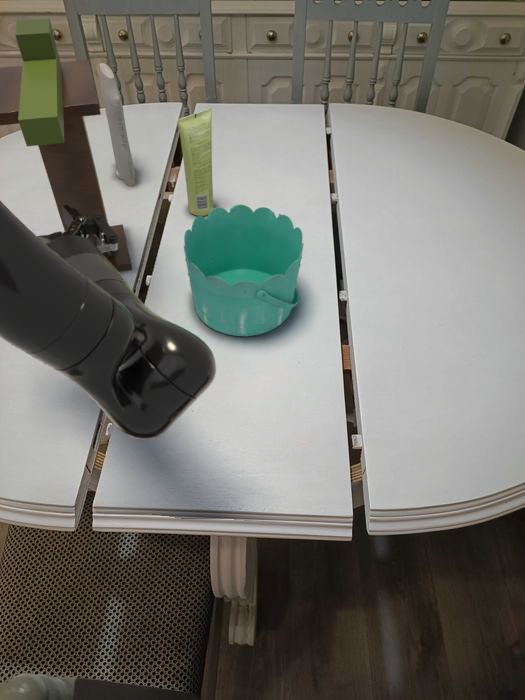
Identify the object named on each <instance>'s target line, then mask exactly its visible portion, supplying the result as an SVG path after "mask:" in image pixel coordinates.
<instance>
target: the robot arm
mask: <svg viewBox="0 0 525 700" xmlns="http://www.w3.org/2000/svg"><path fill="white" fill-rule="evenodd" d="M62 213H63V219H64V221H65V223H66V224H67V225H68V228H67V230H66V231H63V232H62V231H56V232H53V233H50V234H44V235H36V234H35V233H34V232H33V231H32V230H31V229H30V228H29V227H27V225H26V224H24V223H23V221H21V220H20V219H19V218H18V217H17V216H16V215H15V214H14V212H12V211H11V209H9V208H8V207H7V206H6V205H5V203H3V202H2V201H1V200H0V339H2V340H4V341H5V342H7V343H8V344H10V345H11V346H13V347H14V348H16V349H18V350H20V351H22V352H23V353H25V354H27V355H28V356H30V357H32V358H34V359H36V360H38V361H39V362H41V363H43V364H44V365H47V366H48V367H50V368H52V369H54V370H55V371H57V372H59V373H61V374H62V375H63V376H65V377H66V378H68V379H69V380H70V381H72V382H73V383H74V384H75V385H76V386H77V387H79V388H80V390H82V391H83V392H84V393H85V394H86V395H87V396H89V398H91V400H93V402H94V403H95V404H96V405H97V406H98V407H99V408H100V409H101V410H102V413H104V414H105V416H106V417H107V418H108V419H109V421H110V422H112V423H113V425H114V426H115V427H116V429H119V431H120V432H121V433H123V434H124V435H126V436H128V437H129V438H132V439H136V440H152V439H156V438H158V437H160V436H162V435H163V434H166V432H167V431H169V429H171V427H172V426H173V425H174V424H175V423H176V422H177V421H178V420H179V419H180V417H181V416H182V415H183V414H184V413H185V412H186V411H187V410H188V409H189V408H190V407H191V406H192V405H193V404H194V403H195V402H196V401H197V400H198V398H200V397H201V396H202V395H203V394H204V393H205V392H206V391H207V390H208V388H209V387H210V386H211V385H212V384H213V382H214V380H215V378H216V375H217V361H216V358H215V356H214V353H213V351H212V349H211V348H210V347H209V345H208V344H207V343H206V342H205V341H204V340H203V339H202V338H201V337H199V336H198V335H196V334H195V333H193V332H191V331H189V330H188V329H186V328H185V327H183V326H180V325H178V324H176V323H173V322H172V321H170V320H167V319H165V318H163V317H161V316H160V315H158V314H157V313H155V312H154V311H152V310H151V309H150V308H149V307H148V306H147V305H146V304H145V303H144V302H143V301H142V300H141V299H140V298H139V297H138V296H137V295H136V293H135V292H134V291H133V290H132V289H131V288H130V286H129V285H128V283H127V281H126V279H125V278H124V277H123V275H122V274H121V272H118V270H117V269H116V268H115V267H114V266H113V265H112V264H111V262H110V261H109V260H108V259H107V258H106V257H105V256H104V255H103V252H107V253H108V254H109V255H110V256H118V255H119V248H118V235H117V234H116V233H115V232H114V230H113V229H112V228H111V227H110V226H111V225H110V224H109V222H108V223H107V222H106V220H105V219H104V218H103V217H102V216H100V215H96V216H93V219H87V218H86V217H85V216H82V215H81V214H80V213H79V212H78V211H77V210H76V209H74V208H70V207H69V206H68V205H64V206H62ZM88 234H94V236H95V237H96V238H97V240H98V242H96V243H95V242H94V241H93V240H91V239H88Z"/></svg>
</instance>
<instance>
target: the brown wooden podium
mask: <svg viewBox="0 0 525 700" xmlns="http://www.w3.org/2000/svg"><path fill="white" fill-rule="evenodd" d="M60 63H61V67H62V89H63V117H64V143H57V144H47V145H37V146H38V151H39V153H40V156H41V160H42V162H43V166H44V169H45V172H46V175H47V179H48V182H49V185H50V189H51V192H52V195H53V198H54V202H55V205H56V208H57V211H58V215H59V218H60V221H61V225H62V228H63V232H65V231H66V230H67V228H68V225H67V224H66V223H65V221H64V219H63V213H62V206H64V205H68V206H69V207H70V208H74V209H76V210H77V211H78V212H79V213H80V214H81V215H82V216H85V217H86V218H87V219H93V216H96V215H100V216H102V217H103V218H104V219H105V220H106V222H107V223H108V224H109V220H108V216H107V212H106V207H105V203H104V198H103V195H102V190H101V186H100V182H99V177H98V172H97V168H96V164H95V160H94V156H93V152H92V151H93V150H92V146H91V142H90V138H89V133H88V130H87V125H86V120H85V117H91V116H100V115H102V113H101V109H100V103H99V98H98V95H97V91H96V85H95V81H94V76H93V72H92V68H91V63H90V60H89V59H83V60H69V61H62V62H61V61H60ZM22 68H23V65H14V66H13V65H12V66H3V67H0V126H8V125H9V126H11V125H20V124H19V121H18V117H19V104H20V92H21V80H22ZM110 227H111V228H112V229H113V230H114V232H115V233H116V234H117V235H118V248H119V255H118V256H110V255H109V254H108V253H107V252H103V255H104V256H105V257H106V258H107V259H108V260H109V261H110V262H111V264H112V265H113V266H114V267H115V268H116V269H117V270H118V272H119V273H121V272H128V271H133V265H132V261H131V256H130V251H129V247H128V242H127V238H126V233H125V229H124V225H123V223H122V224H116V225H110ZM88 239H91V240H93V241H94V242H95V243H96V242H98V240H97V238H96V237H95V236H94V234H88Z"/></svg>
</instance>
